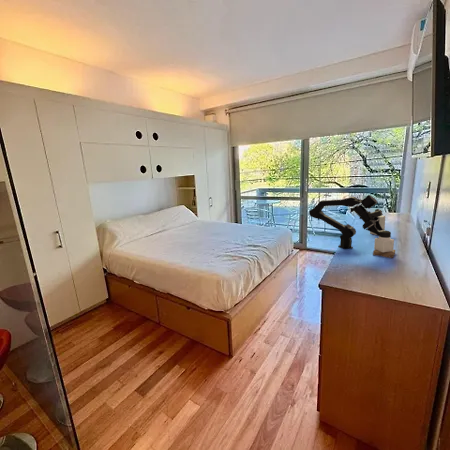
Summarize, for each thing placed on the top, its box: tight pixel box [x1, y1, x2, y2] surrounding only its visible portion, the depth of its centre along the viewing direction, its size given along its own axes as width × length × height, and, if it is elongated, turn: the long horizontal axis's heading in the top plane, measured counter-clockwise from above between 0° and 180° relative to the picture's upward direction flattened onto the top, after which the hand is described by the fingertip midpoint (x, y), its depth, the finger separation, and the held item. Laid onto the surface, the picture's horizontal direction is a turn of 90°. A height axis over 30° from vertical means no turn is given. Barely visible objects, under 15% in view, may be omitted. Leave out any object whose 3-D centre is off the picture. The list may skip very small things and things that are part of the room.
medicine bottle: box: [373, 229, 395, 253], centre depth 148 cm, size 7×7×12 cm
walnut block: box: [372, 248, 396, 259], centre depth 149 cm, size 10×10×3 cm
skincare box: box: [369, 215, 386, 236], centre depth 189 cm, size 8×6×15 cm
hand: (381, 233), depth 148 cm, fingers open, 9 cm apart
